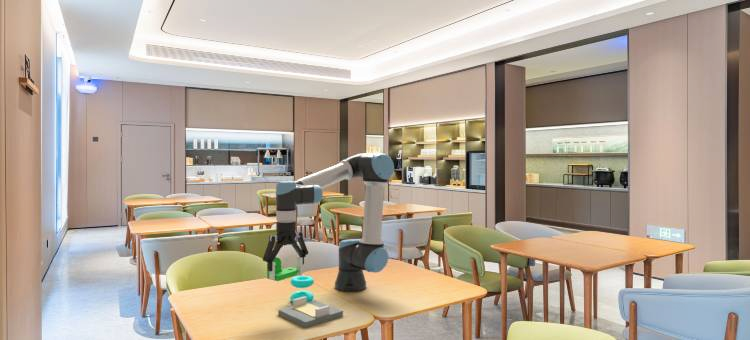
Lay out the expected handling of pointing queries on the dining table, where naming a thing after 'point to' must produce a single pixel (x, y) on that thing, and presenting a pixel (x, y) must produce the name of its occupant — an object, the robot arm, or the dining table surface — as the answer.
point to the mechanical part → (282, 271)
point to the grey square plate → (309, 312)
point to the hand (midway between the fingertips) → (286, 276)
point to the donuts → (302, 283)
